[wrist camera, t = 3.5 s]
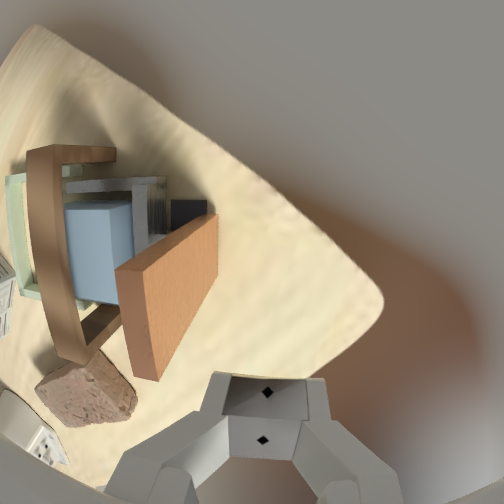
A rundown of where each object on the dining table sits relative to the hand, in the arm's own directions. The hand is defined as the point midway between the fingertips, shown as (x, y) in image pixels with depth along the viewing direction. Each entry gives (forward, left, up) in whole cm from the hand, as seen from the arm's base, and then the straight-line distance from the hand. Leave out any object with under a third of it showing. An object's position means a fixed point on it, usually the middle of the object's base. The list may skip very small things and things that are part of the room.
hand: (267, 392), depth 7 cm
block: (0, +15, -17) cm, 23 cm away
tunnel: (0, +16, -17) cm, 23 cm away
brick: (-21, +23, -17) cm, 36 cm away
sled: (0, +11, -16) cm, 20 cm away
